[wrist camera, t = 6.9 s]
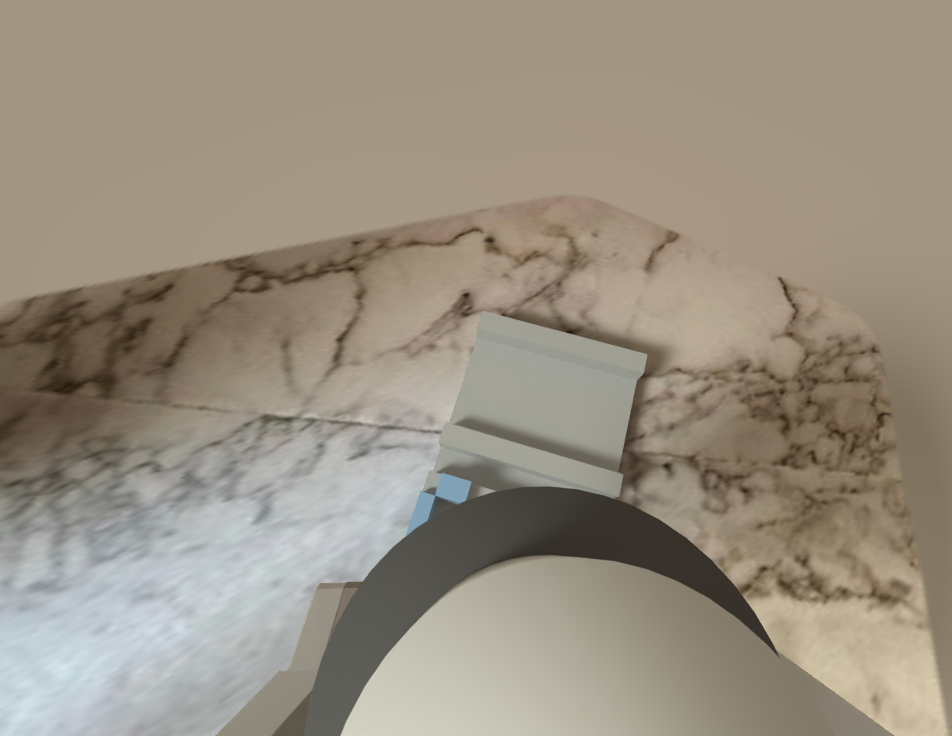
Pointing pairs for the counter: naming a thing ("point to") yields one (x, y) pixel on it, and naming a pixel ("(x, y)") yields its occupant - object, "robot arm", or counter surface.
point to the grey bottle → (552, 632)
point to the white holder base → (533, 416)
